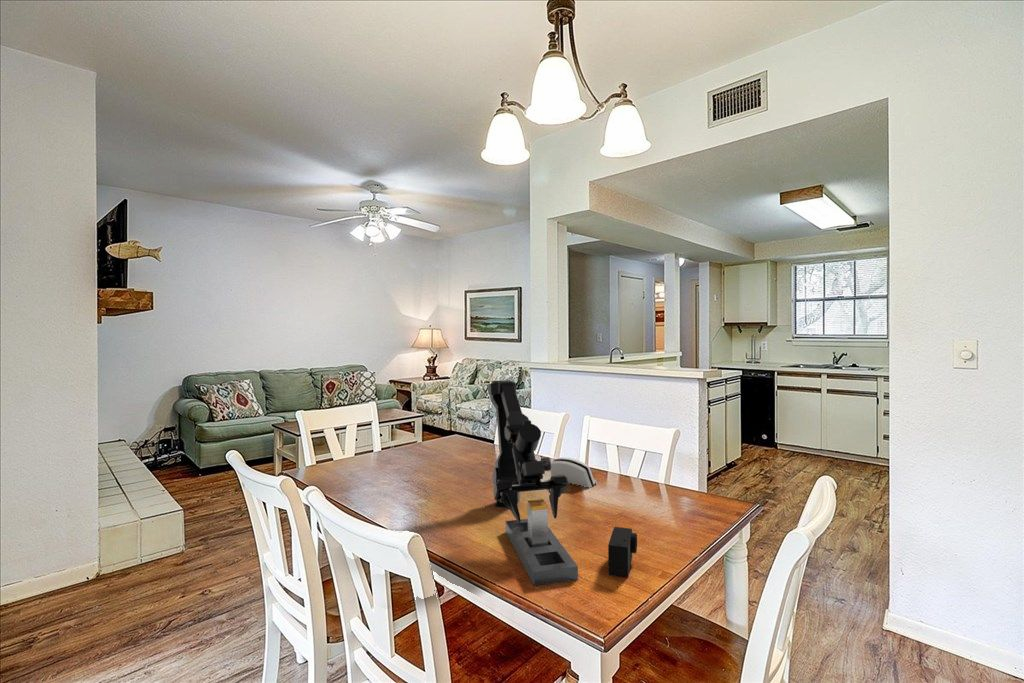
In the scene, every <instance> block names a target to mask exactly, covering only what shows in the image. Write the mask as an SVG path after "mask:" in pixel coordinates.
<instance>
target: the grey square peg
mask: <svg viewBox="0 0 1024 683" xmlns="http://www.w3.org/2000/svg"><path fill="white" fill-rule="evenodd" d="M526 504H527V519H528V545H529V547H530V548H532V547H540V546H548V527H549V512H548V511H549V510H548V509H549V506H548V505H549V504H547V503H546V501H545V500H544V499H533V500H532V499H531V500H527V503H526Z"/></svg>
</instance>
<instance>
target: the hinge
mask: <svg viewBox="0 0 1024 683" xmlns="http://www.w3.org/2000/svg"><path fill="white" fill-rule="evenodd" d="M550 463H551V470H550V475H551V476H556V475H564V476H566V477H567V479H568V483H569V484H570V483H572V484H571V485H574V484H577V485H576V486H578V485H581V486H580V487H582V486H585V487H584V488H586V487H591V488H592V487H593V486H594V485H595V484H597V480H596V479H594V476H593V473H592V470H591V467H590V466H589V465H588V464H586V463H585V462H583V461H581V460H578V459H574V458H570V457H557V458H556V457H555V459H553V461H550ZM551 476H550V477H551Z"/></svg>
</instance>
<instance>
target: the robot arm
mask: <svg viewBox="0 0 1024 683" xmlns="http://www.w3.org/2000/svg"><path fill="white" fill-rule="evenodd" d="M487 394H488V396H489V398H490V402H491V404H492V405H493V406H494V408H495V411H496V412H495V415H496V425H497V426H496V427H497V438H498V449H499V454H498V456H497V458H496V461H495V467H494V468H493V471H492V476H491V477H492V484H493V486H494V487H493V498H494V499H493V500H494V501H496V502H495V503H494V506H495V507H502V508H503V507H505V508H508V510H509V511H510V513H511V514H512V515H513V517H514V518H515V520H517V521H518V523H519V522H520V521H521V514H520V510H519V507H518V504H519V502H520V499H521V498H520V493H522V492H532V491H543V490H545V491H546V490H547V491H548V494H549V496H548V498H549V502H550V507H551V508H550V509H551V512H552V516H553V519H557V518H558V504H559V498H560V497H561V496H562V494H565V493H566V490H567V488H568V486H569V484H570V483H568V479H567V477H566V476H564V475H556V476H550V479H549V480H546V481H542V480H543V478H544V475H545V474H546V472H549V471H551V460H550V457H542V458H540V460H538V459H537V458H536V456H535V454H536V453H535V451H536V450H537V448H538V446H539V445H538V444H539V442H540V440H541V436H542V431H541V429H540V428H539V427H538V426H537V425H535V424H533V423H532V420H530V419H529V416H527V415H526V414H524V413H523V412H522V409H521V404H520V402H519V401H520V400H519V398H518V395H517V383H516V382H515V381H512V380H510V379H507V380H506V379H505V380H502V379H501V380H491V382H490V383H488V385H487Z"/></svg>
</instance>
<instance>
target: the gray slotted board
mask: <svg viewBox="0 0 1024 683" xmlns="http://www.w3.org/2000/svg"><path fill="white" fill-rule="evenodd" d="M520 520H521V521H520V522H519V523H518V521H517V520H516V519H513V520H506V521H505V533H506V535H507V537H508V539H509V541H510V543H511V545H512V547H513V549H514V550H515V552H516V554H517V557H518V558H519V560H520V562H521V563H522V566H523V568H524V570H525V572H526V571H527V572H526V574H527V575H528V577H529V579H530V581H531V583H532V585H533V584H534V585H533V586H534V587H536V586H535V585H538V586H543V585H542V584H545V585H550V584H558V583H565V582H572V581H573V582H574V581H578V580H579V565H578V564H577V563H576V561H574V559H573V558H572V556H571V555H570V553H568V551H567V550H566V549H565V547H564V545H562V543H561V542H560V540H559V539H558V538H557V536H556V535H555V534H554V533H553V531H552V530H551V529H550V527H549V526H548V546H540V547H532V548H530V547H529V545H528V518H524V519H523V518H522V519H521V518H520Z"/></svg>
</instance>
